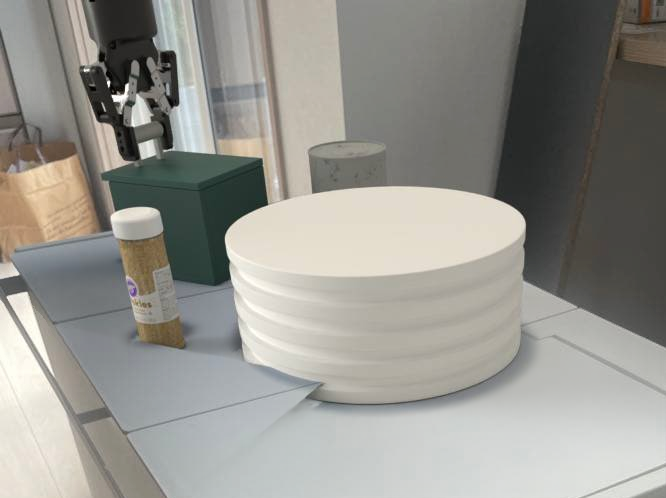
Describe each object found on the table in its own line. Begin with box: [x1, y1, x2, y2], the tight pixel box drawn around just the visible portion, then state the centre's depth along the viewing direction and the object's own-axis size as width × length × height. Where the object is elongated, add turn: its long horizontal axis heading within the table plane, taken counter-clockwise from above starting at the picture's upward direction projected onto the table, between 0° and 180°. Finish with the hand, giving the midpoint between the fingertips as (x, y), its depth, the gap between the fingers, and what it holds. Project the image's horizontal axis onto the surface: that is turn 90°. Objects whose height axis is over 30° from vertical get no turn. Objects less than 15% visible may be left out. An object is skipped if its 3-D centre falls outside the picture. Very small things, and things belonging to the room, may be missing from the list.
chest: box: [107, 165, 269, 287], centre depth 104 cm, size 14×13×11 cm
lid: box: [100, 121, 264, 191], centre depth 99 cm, size 14×13×5 cm
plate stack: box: [225, 185, 527, 405], centre depth 82 cm, size 28×28×12 cm
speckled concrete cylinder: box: [307, 139, 388, 194], centre depth 105 cm, size 10×10×12 cm
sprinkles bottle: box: [110, 207, 186, 350], centre depth 82 cm, size 5×5×13 cm
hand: (148, 154), depth 102 cm, fingers open, 5 cm apart
